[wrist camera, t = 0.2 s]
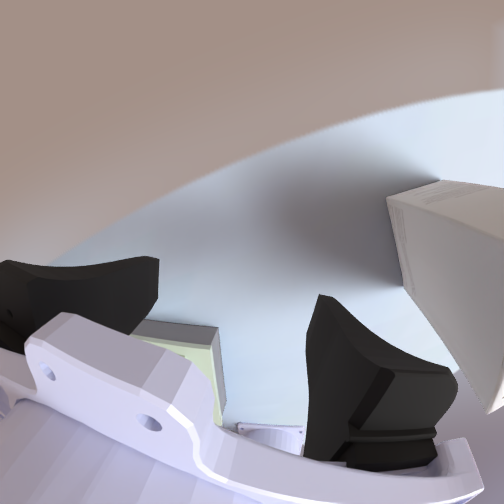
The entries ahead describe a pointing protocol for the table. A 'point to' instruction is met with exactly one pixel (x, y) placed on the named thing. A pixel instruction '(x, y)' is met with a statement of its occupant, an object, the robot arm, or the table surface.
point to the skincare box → (457, 273)
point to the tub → (189, 336)
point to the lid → (199, 357)
